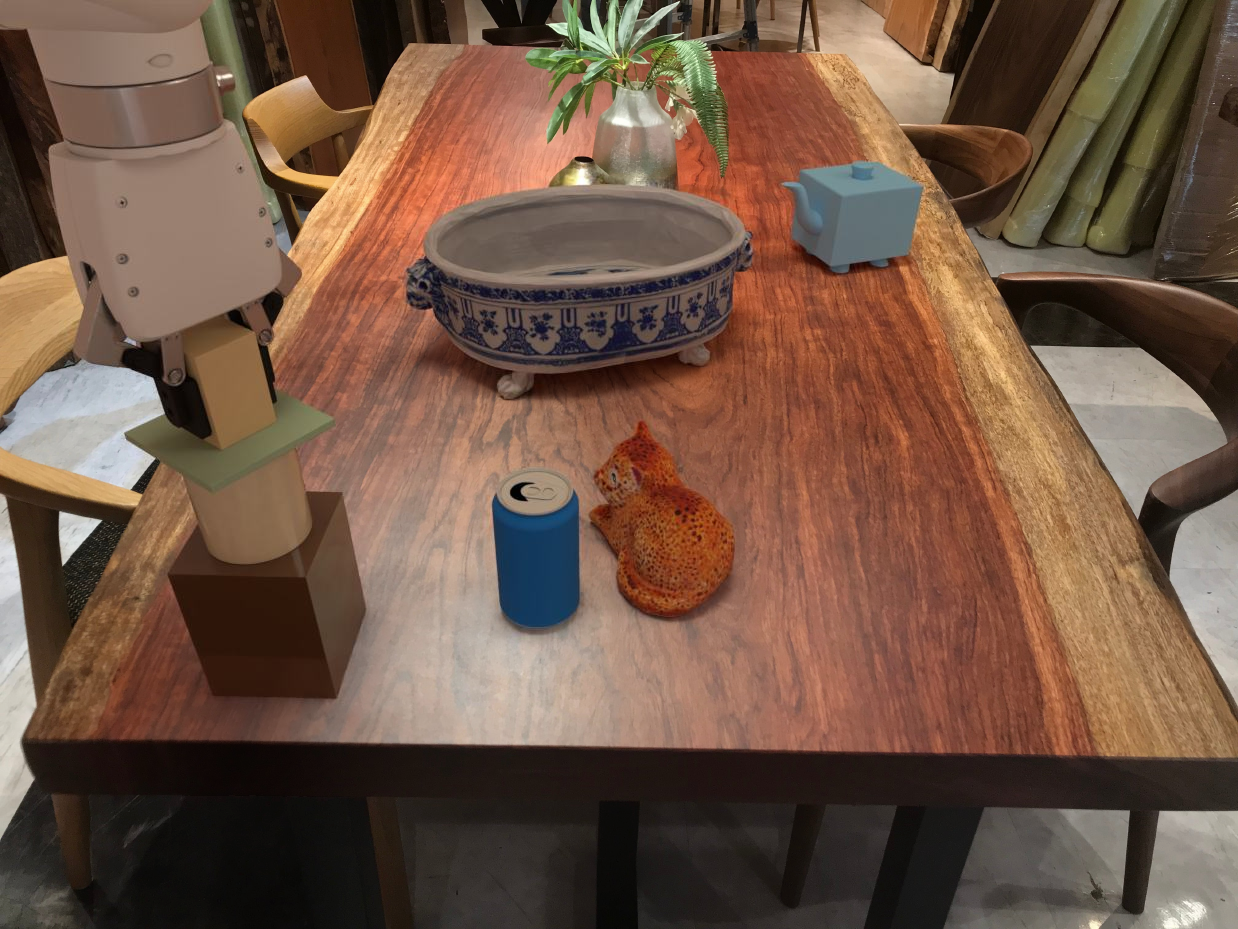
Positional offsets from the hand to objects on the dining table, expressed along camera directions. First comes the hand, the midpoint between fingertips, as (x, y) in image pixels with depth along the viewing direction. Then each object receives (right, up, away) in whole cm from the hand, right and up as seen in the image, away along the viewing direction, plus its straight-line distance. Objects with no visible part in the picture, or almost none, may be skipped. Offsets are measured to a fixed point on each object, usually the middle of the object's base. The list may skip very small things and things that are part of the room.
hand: (226, 410), depth 56 cm
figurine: (+28, -11, +23) cm, 38 cm away
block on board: (0, -1, +1) cm, 2 cm away
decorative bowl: (+21, +11, +54) cm, 59 cm away
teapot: (+57, +27, +76) cm, 98 cm away
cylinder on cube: (0, -18, +13) cm, 22 cm away
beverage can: (+18, -15, +17) cm, 29 cm away
